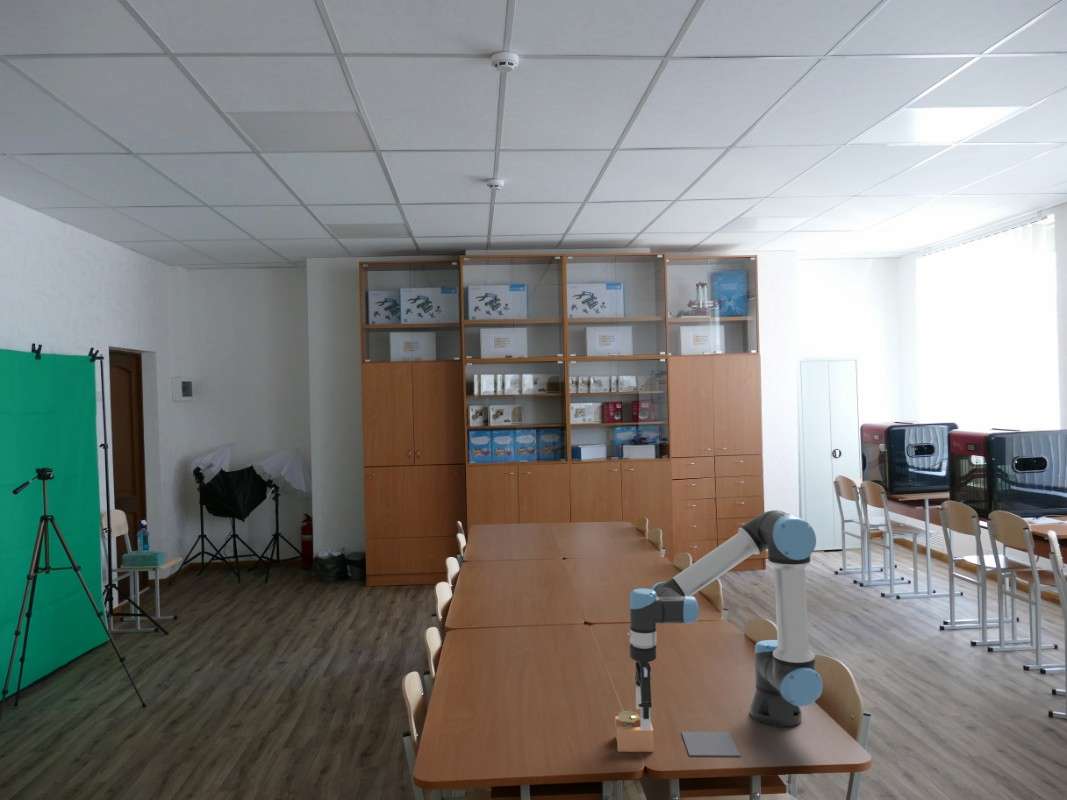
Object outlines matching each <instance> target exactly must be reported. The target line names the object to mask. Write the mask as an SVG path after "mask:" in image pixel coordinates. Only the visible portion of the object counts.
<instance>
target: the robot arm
mask: <svg viewBox="0 0 1067 800" xmlns="http://www.w3.org/2000/svg"><path fill="white" fill-rule="evenodd" d="M816 545H817V536H816V532H815V530H814V528H813V527H812V526H811V524H810V523H809V522H808V521H806V520H805V519H803V518H802V517H800V516H797V515H794V514H790V513H787V512H784V511H782V510H777V509H776V510H774V509H773V510H768V511H764V512H762V513H760V514H758V515H757V516H755V517H754V518H752V519H750V520H748V522H746V523H745V524H743V525H742V526H740V527H739V528H738V531H737V533H736V534H735V535H733V536H731V537H730V538H728V539H727V540H725V542H723V543H721V544H720V545H719V546H717V547H716V548H715V549H713V550H711V551H710V552H708V553H707V554H705V555H704V556H702V557H701V558H700V559H697V561H694V563H692V564H691V565H689V566H688V567H686V568H685V569H683V570H682V571H681V572H679V573H677V574H675V576H673V577H672V578H670V579H669V580H667V581H665V582H664V581H659V582H657V583H655V584H653V585H652V587H651V588H635V589H633V590H631V592H630V597H629V631H630V632H627V636H629V643H630V644H629V657H630V659H631V660H632V661H633V660H634V661H636V662H635V665H634V666H635V677H634V679H635V685H636V686H635V709H636V710H640V716H641V730H651V723H652V721H651V720H652V718H651V712H652V711H651V710H652V709H651V708H652V706H653V704H652V691H651V690H652V689H651V680H652V679H651V666H650V662H654V661H655V660H656V658H657V646H656V645H657V625H658V624H660V625H661V624H662V625H665V624H666V625H667V624H684V625H687V624H694V623H696V622H697V621H698V619H699V614H700V613H699V610H700V609H699V603H698V600H697V599H696V597H695V596H693V595H695V594H696V593H698V592H699V591H701V590H702V589H704V588H705V587H706V586H708V585H709V584H711V583H713V582H714V581H716V580H717V579H718V578H719V577H721V576H723V575H724V574H726V573H727V572H730V571H731V569H733V568H735V567H736V566H737V565H739V564H740V563H742V562H743V561H744V560H746V559H748V558H749V557H751V556H752V555H760V554H762V553H763V552H764V551H766V550H767V558H768V559H767V560H768V562H769V563H770V564H771V565H772V566H773V571H774V572H773V573H774V593H775V594H774V595H775V597H774V598H775V615H776V638H777V639H768V640H767V639H766V640H765V639H764V640H760V641H758V642H756V644H755V646H754V647H755V648H754V668H755V669H754V670H755V673H754V674H755V690H754V693H753V697H752V699H751V703H750V706H749V707H750V709H749V711H750V716H751V718H752V719H754V720H755V721H756V722H758V723H761V724H763V725H767V726H771V727H778V728H780V727H781V728H782V727H783V728H787V727H788V728H790V727H794V726H797V725H798V724H800V723H802V720H803V717H802V715H803V714H802V709H801V707H807V706H810V705H812V704H813V703H814V704H815V702H816V700H817V699H819V698H820V697H821V695H822V692H823V688H824V687H823V686H824V684H823V683H824V682H823V679H822V677H821V675H820V674H819V672H818V671H817V670H816V656H815V654H814V652H812V651H811V649H810V643H809V628H808V627H809V625H808V622H809V621H808V601H807V580H806V567H807V566H809V564H810V563H811V555H812V552H814V551H815V549H816Z"/></svg>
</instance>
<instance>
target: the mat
mask: <svg viewBox="0 0 1067 800" xmlns="http://www.w3.org/2000/svg"><path fill="white" fill-rule="evenodd" d="M680 733H681V736H682V738H683V742H684V744H685V748H686V750H687V753H688V756H689V757H716V758H717V757H727V758H729V757H732V758H735V757H737V758H738V757H741V756H742V755H741V753H740V751H739V749H738V747H737V745H736V743H735V741H734V739H733V737H732V735H731V733H730V731H681V732H680Z"/></svg>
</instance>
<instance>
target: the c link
mask: <svg viewBox="0 0 1067 800" xmlns="http://www.w3.org/2000/svg"><path fill="white" fill-rule="evenodd" d="M614 720H615V721H614V723H615V740H616V742H617V743H616V745H617V748H616V749H617V752H620V753H621V752H623V753H624V752H627V753H628V752H630V753H631V752H632V753H633V752H634V753H636V752H637V753H641V752H644V753H645V752H649V753H653V752H654V751H655V749H654V748H655V747H654V746H655V745H654V728H653V723H652V722H651V730H641V715H639V721H638V722H636V723H633V727H625V725H624V723H623V722H621V721H619V720H618V715H615V719H614Z"/></svg>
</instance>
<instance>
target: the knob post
mask: <svg viewBox="0 0 1067 800" xmlns="http://www.w3.org/2000/svg"><path fill="white" fill-rule="evenodd" d="M617 716H618V720H619V721H621V722H623V723H624V725H625V727H633V723H636V722H638V721H639V716H640V714H639V713H638V712H636V711H634V710H622V711H619V712H618V714H617Z"/></svg>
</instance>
